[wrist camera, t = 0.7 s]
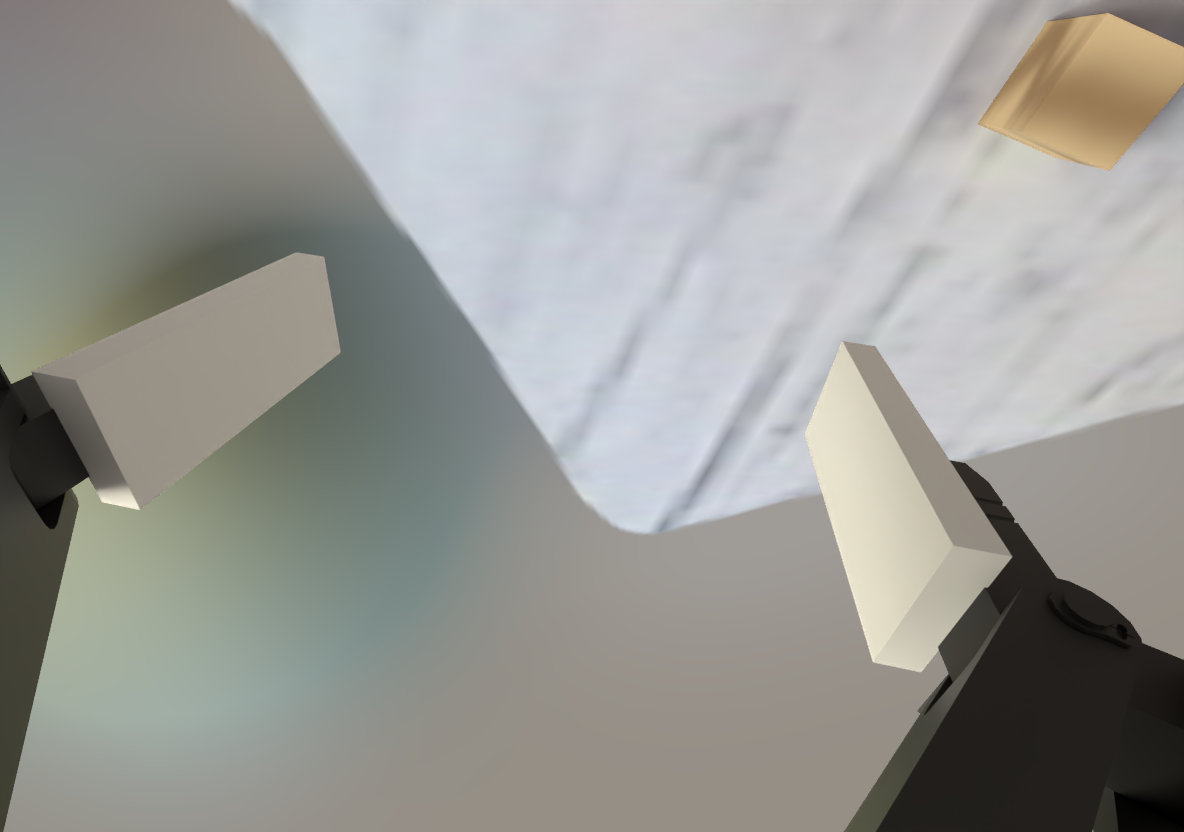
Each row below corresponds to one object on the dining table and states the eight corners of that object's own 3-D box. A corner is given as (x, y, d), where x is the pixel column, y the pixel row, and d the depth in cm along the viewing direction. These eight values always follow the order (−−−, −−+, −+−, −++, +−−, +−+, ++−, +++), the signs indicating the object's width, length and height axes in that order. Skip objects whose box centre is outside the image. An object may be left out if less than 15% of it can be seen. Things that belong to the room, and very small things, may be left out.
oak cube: (1046, 21, 28) (1107, 13, 24) (1130, 59, 28) (1205, 57, 24) (977, 123, 31) (1021, 131, 27) (1054, 157, 31) (1109, 170, 27)
